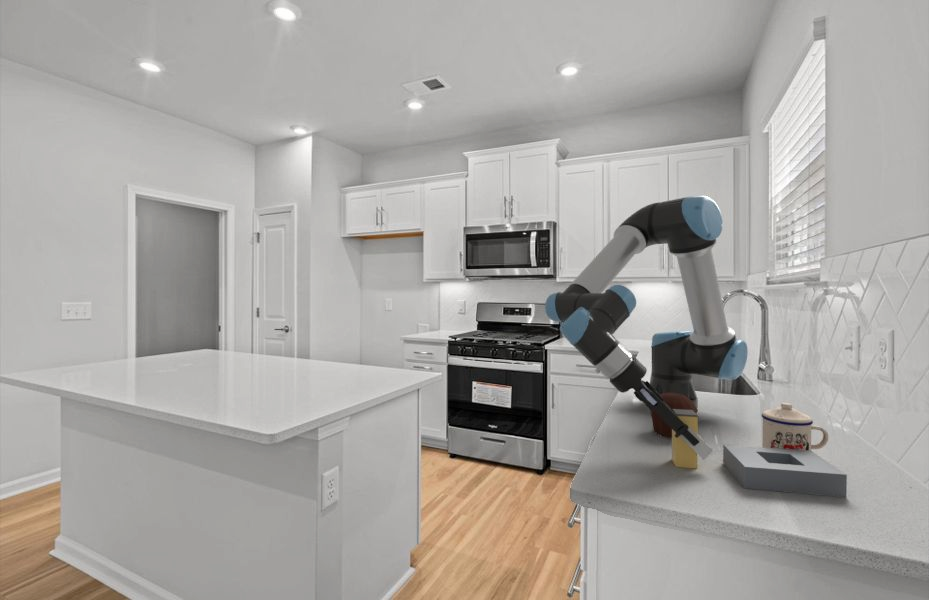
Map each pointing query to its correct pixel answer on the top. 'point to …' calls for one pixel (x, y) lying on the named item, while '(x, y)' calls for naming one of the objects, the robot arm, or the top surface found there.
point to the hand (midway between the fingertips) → (703, 449)
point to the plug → (680, 449)
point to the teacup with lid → (789, 429)
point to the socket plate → (784, 470)
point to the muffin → (674, 403)
